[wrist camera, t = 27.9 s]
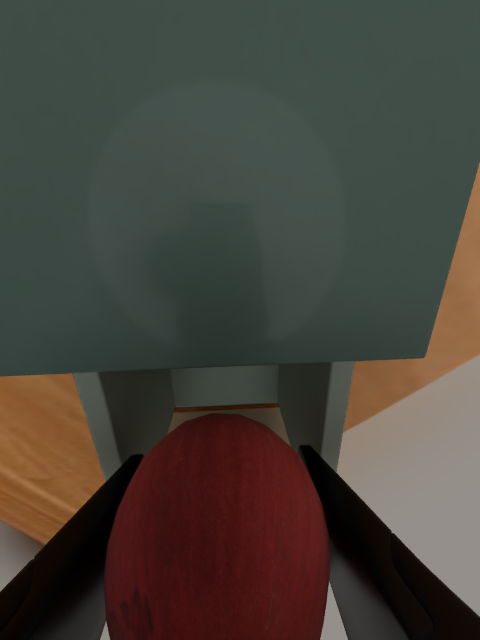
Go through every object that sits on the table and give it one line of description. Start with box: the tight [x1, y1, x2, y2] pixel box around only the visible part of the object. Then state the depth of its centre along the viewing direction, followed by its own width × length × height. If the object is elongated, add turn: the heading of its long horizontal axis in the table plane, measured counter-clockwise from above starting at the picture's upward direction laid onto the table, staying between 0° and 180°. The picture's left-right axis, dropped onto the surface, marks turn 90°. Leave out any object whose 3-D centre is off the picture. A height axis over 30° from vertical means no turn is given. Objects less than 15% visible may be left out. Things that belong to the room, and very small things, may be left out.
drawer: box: [73, 361, 355, 482], centre depth 14 cm, size 16×10×9 cm, turn 1°
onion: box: [104, 413, 330, 640], centre depth 7 cm, size 6×6×8 cm
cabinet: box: [0, 0, 480, 376], centre depth 9 cm, size 13×12×11 cm
